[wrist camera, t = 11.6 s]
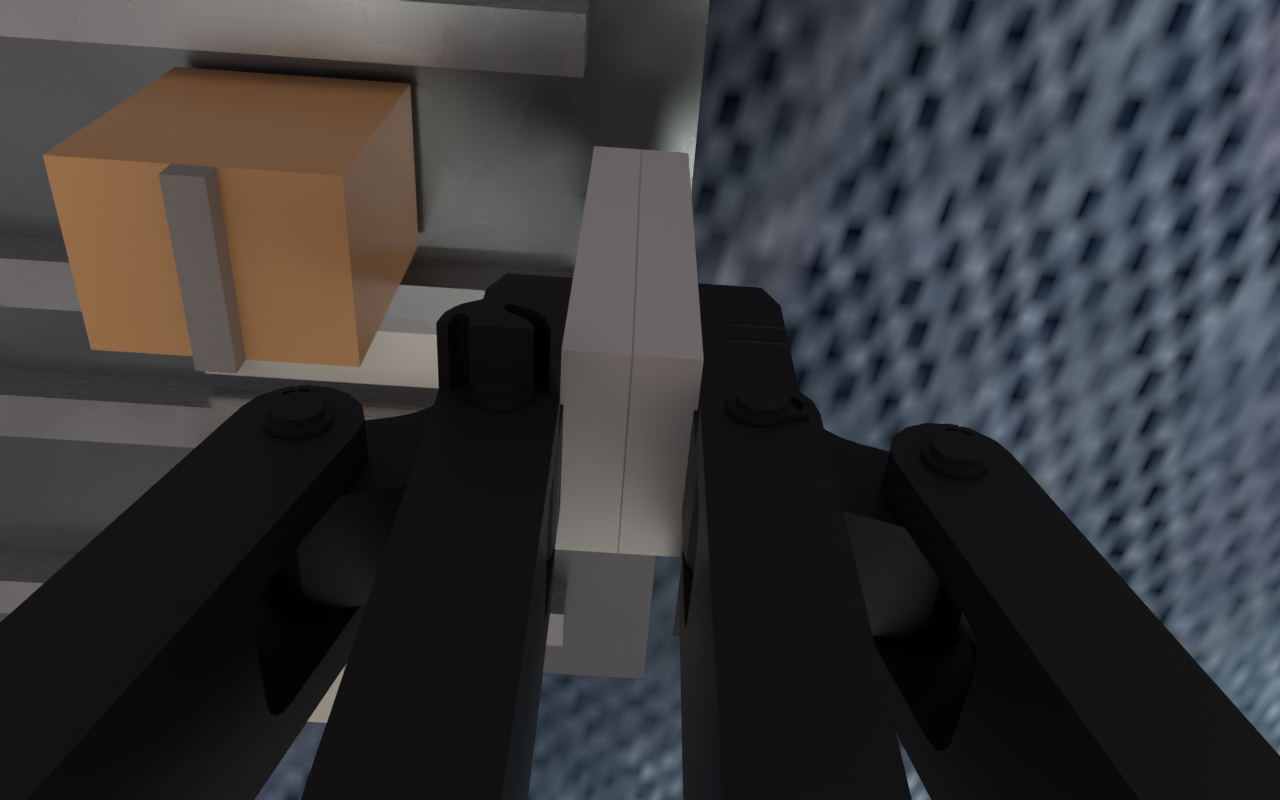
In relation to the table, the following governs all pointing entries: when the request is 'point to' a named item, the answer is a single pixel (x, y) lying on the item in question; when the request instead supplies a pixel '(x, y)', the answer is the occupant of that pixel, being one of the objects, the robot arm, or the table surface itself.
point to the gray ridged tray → (433, 283)
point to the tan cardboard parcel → (240, 216)
